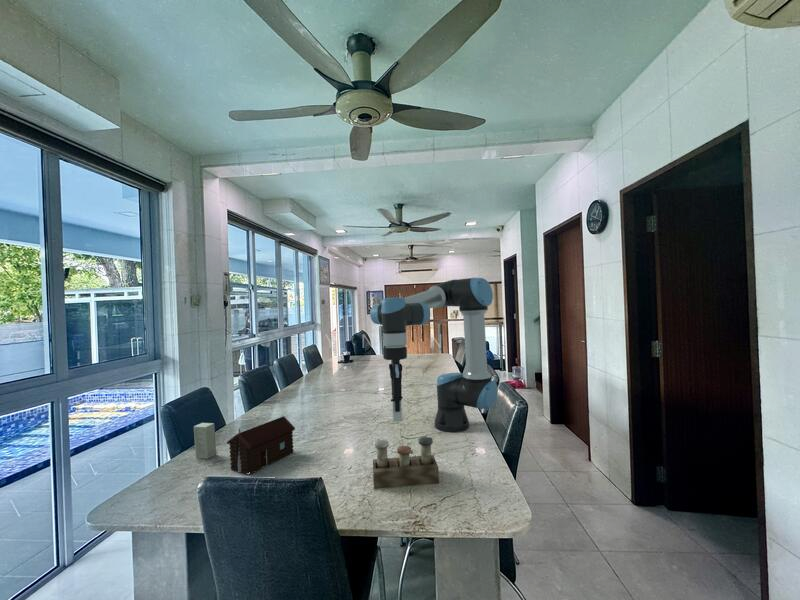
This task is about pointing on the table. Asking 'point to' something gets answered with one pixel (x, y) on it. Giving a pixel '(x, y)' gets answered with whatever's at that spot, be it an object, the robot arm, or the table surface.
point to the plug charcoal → (426, 450)
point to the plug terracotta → (404, 455)
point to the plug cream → (382, 453)
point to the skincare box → (204, 440)
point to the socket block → (405, 473)
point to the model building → (261, 445)
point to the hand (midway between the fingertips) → (397, 420)
